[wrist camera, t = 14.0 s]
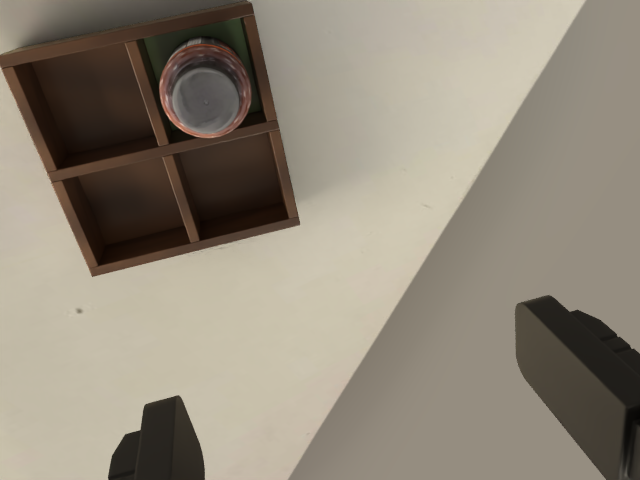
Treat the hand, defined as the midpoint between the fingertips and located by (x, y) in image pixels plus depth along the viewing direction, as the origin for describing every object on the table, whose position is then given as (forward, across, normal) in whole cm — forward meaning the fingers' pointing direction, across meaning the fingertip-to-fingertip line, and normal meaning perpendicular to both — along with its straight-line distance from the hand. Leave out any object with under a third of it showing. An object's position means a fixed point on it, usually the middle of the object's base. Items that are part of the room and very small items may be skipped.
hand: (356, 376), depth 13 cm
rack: (+36, +7, +2) cm, 37 cm away
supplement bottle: (+36, +3, -2) cm, 36 cm away
